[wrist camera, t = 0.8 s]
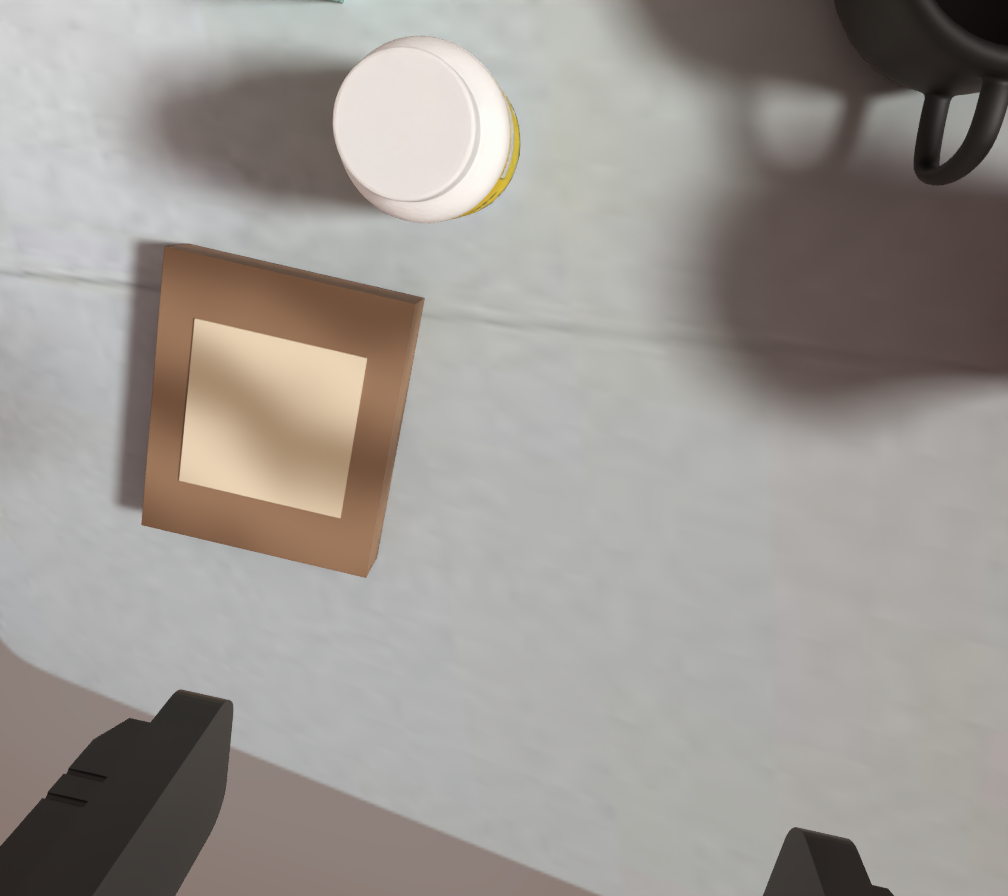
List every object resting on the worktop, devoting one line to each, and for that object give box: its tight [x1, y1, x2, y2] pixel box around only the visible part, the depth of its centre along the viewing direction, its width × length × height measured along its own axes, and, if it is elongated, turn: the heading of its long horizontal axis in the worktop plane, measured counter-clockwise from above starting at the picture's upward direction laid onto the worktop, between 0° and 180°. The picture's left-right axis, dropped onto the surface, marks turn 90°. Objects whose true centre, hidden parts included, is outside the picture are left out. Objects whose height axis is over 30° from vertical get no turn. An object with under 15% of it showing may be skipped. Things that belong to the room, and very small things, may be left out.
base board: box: [142, 244, 425, 578], centre depth 34 cm, size 12×10×2 cm
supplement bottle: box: [333, 36, 520, 223], centre depth 27 cm, size 5×5×10 cm
